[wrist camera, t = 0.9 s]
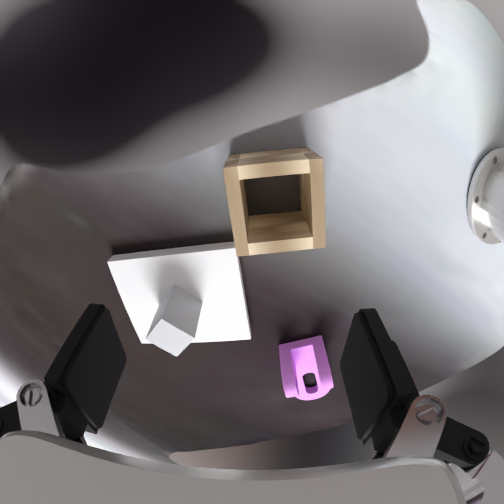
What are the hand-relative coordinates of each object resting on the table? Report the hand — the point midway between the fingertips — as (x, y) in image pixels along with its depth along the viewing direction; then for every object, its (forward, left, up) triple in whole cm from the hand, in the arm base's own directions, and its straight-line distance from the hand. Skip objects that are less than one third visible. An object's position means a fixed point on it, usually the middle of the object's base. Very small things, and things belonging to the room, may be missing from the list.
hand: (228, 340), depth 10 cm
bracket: (-6, +26, -19) cm, 32 cm away
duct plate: (+8, +11, -18) cm, 23 cm away
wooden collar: (-3, 0, -18) cm, 18 cm away
